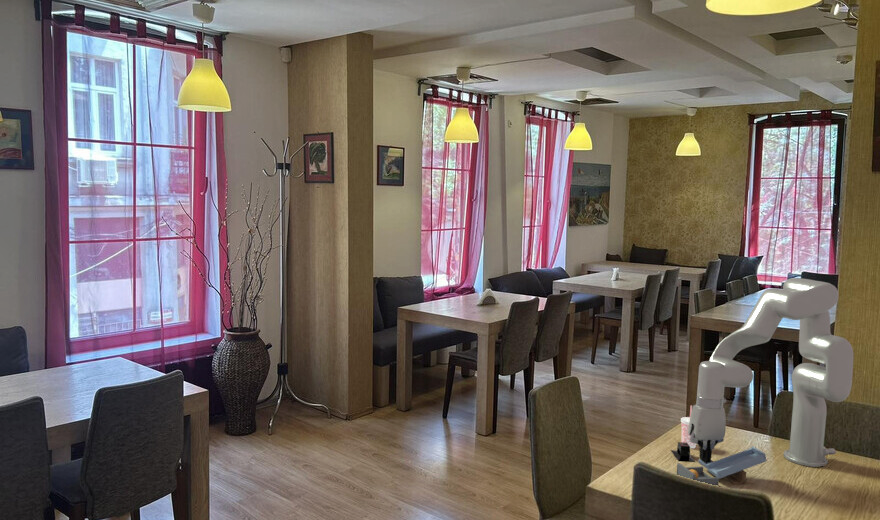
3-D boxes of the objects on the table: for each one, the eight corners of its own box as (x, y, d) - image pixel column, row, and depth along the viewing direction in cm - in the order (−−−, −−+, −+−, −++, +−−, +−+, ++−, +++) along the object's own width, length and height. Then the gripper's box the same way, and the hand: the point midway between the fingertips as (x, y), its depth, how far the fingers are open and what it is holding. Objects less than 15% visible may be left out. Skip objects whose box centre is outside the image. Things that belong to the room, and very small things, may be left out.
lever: (742, 447, 211) (740, 439, 210) (766, 461, 200) (765, 453, 199) (697, 463, 208) (695, 455, 208) (719, 478, 197) (717, 470, 197)
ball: (696, 471, 201) (689, 465, 200) (702, 475, 197) (695, 469, 197) (690, 480, 200) (682, 474, 200) (696, 484, 197) (688, 478, 197)
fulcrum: (737, 473, 206) (737, 462, 205) (752, 483, 199) (753, 471, 198) (719, 474, 204) (720, 463, 204) (734, 484, 197) (735, 472, 197)
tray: (701, 474, 204) (702, 462, 204) (718, 486, 196) (719, 473, 195) (676, 476, 202) (677, 463, 202) (692, 488, 194) (693, 474, 194)
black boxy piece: (699, 466, 212) (700, 452, 212) (676, 464, 213) (677, 450, 212) (688, 451, 225) (689, 438, 224) (666, 449, 225) (667, 436, 225)
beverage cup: (677, 441, 232) (679, 402, 230) (695, 443, 231) (698, 403, 229) (681, 448, 226) (683, 407, 224) (700, 449, 225) (703, 409, 223)
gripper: (724, 398, 210) (719, 455, 211) (680, 399, 207) (676, 457, 208) (739, 405, 202) (734, 464, 204) (694, 406, 199) (689, 466, 201)
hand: (705, 460), depth 206 cm, fingers closed
